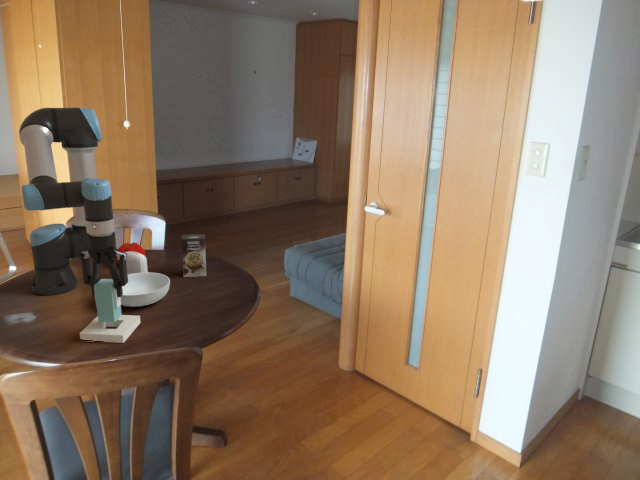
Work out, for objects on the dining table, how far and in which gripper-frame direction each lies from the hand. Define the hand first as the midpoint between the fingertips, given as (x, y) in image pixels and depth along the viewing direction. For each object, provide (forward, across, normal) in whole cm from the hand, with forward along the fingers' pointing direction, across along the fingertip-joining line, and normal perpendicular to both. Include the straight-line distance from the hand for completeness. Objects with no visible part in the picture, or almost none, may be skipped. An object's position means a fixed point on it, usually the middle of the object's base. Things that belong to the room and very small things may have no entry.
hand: (108, 305), depth 150 cm
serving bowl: (+9, 0, +23) cm, 25 cm away
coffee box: (+9, +12, +50) cm, 52 cm away
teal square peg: (+4, 0, 0) cm, 4 cm away
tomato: (+9, -17, +57) cm, 60 cm away
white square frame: (+9, 0, 0) cm, 9 cm away
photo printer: (+9, -8, +39) cm, 41 cm away
